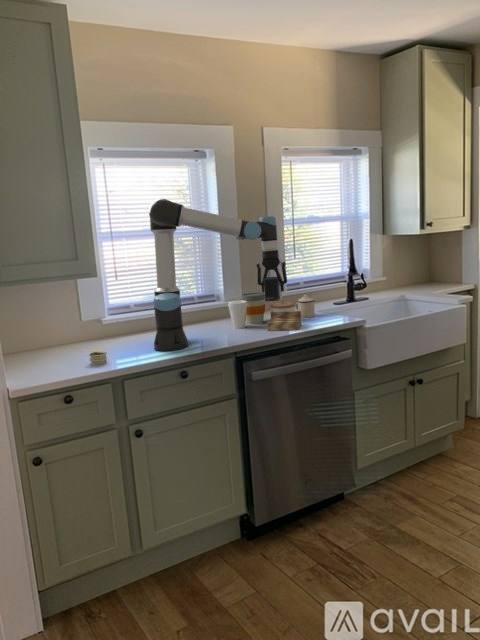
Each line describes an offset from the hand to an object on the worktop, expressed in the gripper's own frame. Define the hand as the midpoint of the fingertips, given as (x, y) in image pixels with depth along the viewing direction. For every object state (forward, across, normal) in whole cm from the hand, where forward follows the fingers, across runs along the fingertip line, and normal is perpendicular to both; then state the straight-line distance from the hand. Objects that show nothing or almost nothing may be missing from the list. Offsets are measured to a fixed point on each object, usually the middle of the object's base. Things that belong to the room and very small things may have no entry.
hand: (273, 298), depth 256 cm
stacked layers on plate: (+15, +64, +56) cm, 86 cm away
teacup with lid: (+16, -10, -39) cm, 43 cm away
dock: (+16, -3, -8) cm, 18 cm away
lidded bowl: (+16, 0, -26) cm, 30 cm away
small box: (+1, 0, 0) cm, 1 cm away
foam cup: (+16, +21, -12) cm, 29 cm away
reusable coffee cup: (+16, +15, -25) cm, 33 cm away
